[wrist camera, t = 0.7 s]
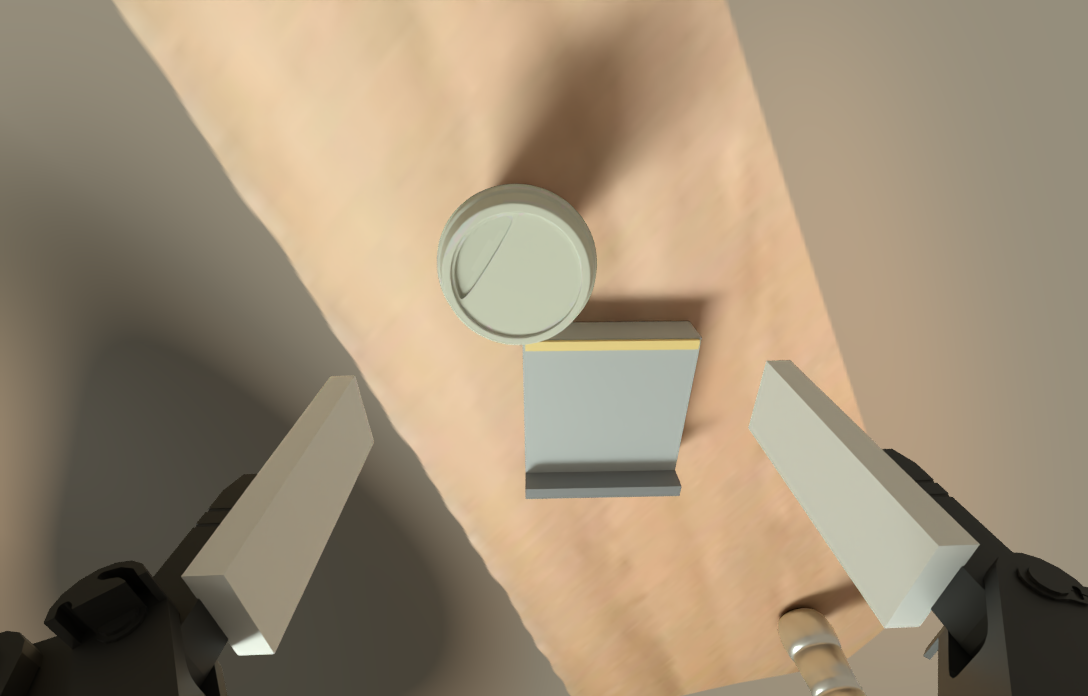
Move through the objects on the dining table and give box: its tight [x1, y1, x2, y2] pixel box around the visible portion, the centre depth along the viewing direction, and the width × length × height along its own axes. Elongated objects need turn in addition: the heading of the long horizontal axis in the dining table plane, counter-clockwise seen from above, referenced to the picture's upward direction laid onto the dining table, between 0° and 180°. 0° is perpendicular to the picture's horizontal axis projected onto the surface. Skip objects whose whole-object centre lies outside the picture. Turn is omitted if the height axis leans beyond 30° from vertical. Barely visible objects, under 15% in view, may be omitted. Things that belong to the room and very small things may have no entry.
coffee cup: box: [437, 184, 597, 345], centre depth 27 cm, size 8×8×12 cm
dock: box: [523, 321, 702, 499], centre depth 37 cm, size 15×14×5 cm
